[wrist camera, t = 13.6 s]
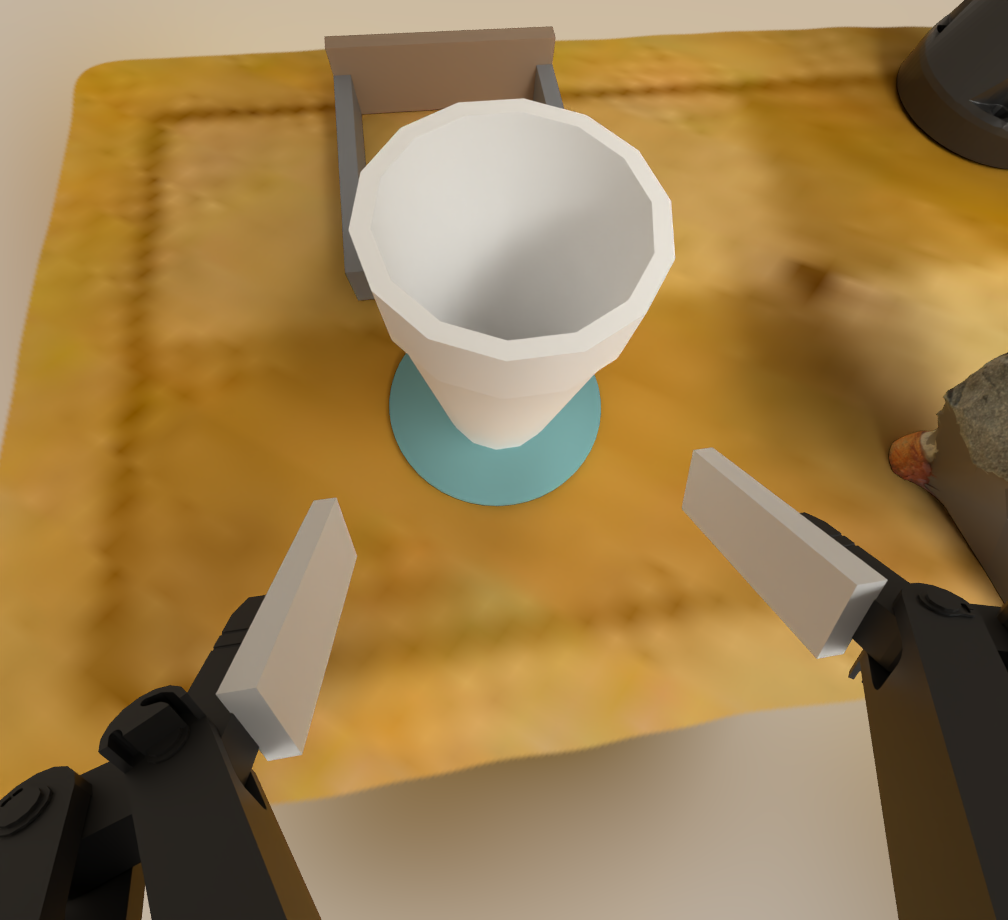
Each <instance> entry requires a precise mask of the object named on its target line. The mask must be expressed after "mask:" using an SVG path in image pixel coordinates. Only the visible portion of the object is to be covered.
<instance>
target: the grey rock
mask: <svg viewBox="0 0 1008 920" xmlns="http://www.w3.org/2000/svg"><path fill="white" fill-rule="evenodd" d="M943 398H944V399H945V402H946V403H945V405H944V407H943V409H942V410H941V411H939V412H938V413H937V414H936V415H937V416H938V428H937V429H936V430H934V431H919V432H915V433H913V434H910V435H906V436H904V437H901V438H899V439H898V440H896V441H894V442H893V444H892V446H891V448H890V453H889V461H890V464H891V467H892V470H893V472H894V473H895V474H898V475H899V476H900V477H902V478H903V479H904V480H909V481H911V482H913V483H915V484H917V485H919V486H921V487H922V488H924V489H925V490H927V491H928V492H929V493H931V494H932V495H934V496H935V497H936V498H937V499H938V500H939V501H940V502H941V503H942V504H943V505H944V506H945V508H946V509H947V511H948V512H949V514H950V516H951V517H952V519H953V520H954V522H955V524H956V525H957V527H958V528H959V530H960V532H961V533H962V535H963V536H964V538H965V539H966V541H967V543H968V544H969V546H970V547H971V549H972V551H973V552H974V554H975V555H976V557H977V559H978V560H979V562H980V563H981V565H982V567H983V568H984V570H985V571H986V573H987V575H988V576H989V578H990V580H991V581H992V583H993V585H994V587H995V588H996V590H997V592H998V593H999V595H1000V597H1001V598H1002V600H1003V602H1004V603H1006V602H1007V600H1008V353H1006V354H1003V355H1001V356H998V357H997V358H994V359H993V360H991V361H990V362H988V363H986V364H985V365H984V366H983V367H982V368H981V369H979V370H978V371H976V372H975V373H974V374H972V375H970V376H969V377H968V378H967V379H966V380H965V381H963V382H962V383H960V384H958V385H957V386H955V387H954V388H952V389H950V390H948V391H947V392H946V394H945V395H944V396H943Z"/></svg>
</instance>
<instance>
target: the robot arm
mask: <svg viewBox="0 0 1008 920" xmlns="http://www.w3.org/2000/svg"><path fill="white" fill-rule="evenodd" d="M897 86H898V92H899V95H900V98H901V101H902V103H903V105H904V107H905V109H906V110H907V112H908V113H909V115H910V116H911V117H912V119H913V120H914V121H915V122H916V123H917V124H918V126H919V127H920V128H921V129H922V130H924V131H925V132H926V133H927V134H928V135H929V136H930V137H932V138H933V139H934V140H936V141H937V142H938V143H940V144H941V145H943V146H945V147H946V148H948V149H950V150H951V151H953V152H955V153H957V154H959V155H961V156H963V157H965V158H968V159H970V160H973V161H976V162H979V163H982V164H985V165H989V166H993V167H998V168H1004V169H1008V0H964V1H963V2H962V3H961V4H960V5H959V6H958V7H957V8H955V9H954V10H953V11H952V12H951V13H950V14H949V15H947V16H945V17H944V18H943V19H942V20H941V21H939V22H938V23H937V24H936V25H935V26H934V27H933V28H932V29H931V30H930V31H929V32H928V33H927V34H926V35H925V37H924V38H923V39H922V40H921V41H920V43H919V44H918V45H917V46H916V47H915V49H914V50H913V51H912V52H911V53H910V55H909V56H908V57H907V58H906V59H905V61H904V62H903V63H902V65H901V67H900V69H899V72H898V77H897ZM682 510H683V511H684V512H685V513H686V514H687V515H688V516H689V517H690V519H691V520H692V521H693V522H694V523H695V524H696V525H697V526H698V527H699V529H700V530H701V531H702V532H703V533H704V534H705V535H706V536H707V537H708V539H709V540H710V541H711V542H712V543H713V544H714V545H715V546H716V547H717V549H718V550H719V551H720V552H721V553H722V554H723V555H724V556H725V557H726V559H727V560H728V561H729V562H730V563H731V564H732V565H733V566H734V567H735V569H736V570H737V571H738V572H739V573H740V574H741V575H742V576H743V577H744V579H745V580H746V581H747V582H748V583H749V584H750V585H751V586H752V587H753V589H754V590H755V591H756V592H757V593H758V594H759V595H760V596H761V597H762V599H763V600H764V601H765V602H766V603H767V604H768V605H769V606H770V607H771V609H772V610H773V611H774V612H775V613H776V614H777V615H778V616H779V617H780V619H781V620H782V621H783V622H784V623H785V624H786V625H787V626H788V627H789V629H790V630H791V631H792V632H793V633H794V634H795V635H796V636H797V637H798V639H799V640H800V641H801V642H802V643H803V644H804V645H805V646H806V647H807V649H808V650H809V651H810V652H811V653H812V654H813V655H814V656H815V657H816V659H818V658H824V657H829V656H834V655H840V654H844V652H845V650H846V649H847V647H848V645H849V644H850V642H851V640H852V639H854V640H855V641H856V642H857V643H858V644H859V645H860V646H861V647H862V648H863V650H862V652H861V654H860V655H859V657H858V658H857V660H856V661H855V663H854V665H853V666H852V668H851V669H850V671H849V676H848V677H849V678H851V679H854V678H855V677H856V675H857V674H858V672H859V671H861V673H862V683H863V686H864V693H865V700H866V706H867V713H868V719H869V726H870V733H871V739H872V746H873V753H874V758H875V766H876V772H877V779H878V786H879V792H880V799H881V805H882V812H883V818H884V824H885V832H886V839H887V844H888V851H889V858H890V865H891V872H892V878H893V885H894V892H895V898H896V904H897V911H898V918H899V920H1008V600H1007V602H1006V603H1005V604H1004V605H1003V606H1002V607H996V606H986V605H977V604H969V603H968V602H967V601H965V600H964V599H963V598H961V597H959V596H957V595H955V594H953V593H951V592H949V591H947V590H945V589H942V588H939V587H936V586H933V585H928V584H923V583H909V582H907V581H906V580H904V579H903V578H902V577H900V576H899V575H898V574H896V573H895V572H894V571H892V570H891V569H889V568H888V567H887V566H885V565H884V564H883V563H881V562H880V561H878V560H877V559H876V558H874V557H873V556H872V555H870V554H869V553H867V552H866V551H865V550H863V549H862V548H861V547H859V546H855V544H854V542H852V541H851V540H850V539H848V538H847V537H845V536H842V535H841V533H840V532H839V531H837V530H836V529H834V528H833V527H832V526H830V525H829V524H828V523H826V522H825V521H822V520H820V519H818V518H816V517H814V516H812V515H809V514H807V513H805V512H804V513H799V512H797V511H796V510H795V509H793V508H792V507H791V506H789V505H788V504H787V503H785V502H784V501H783V500H781V499H780V498H779V497H777V496H776V495H775V494H773V493H772V492H771V491H769V490H768V489H767V488H765V487H764V486H763V485H761V484H760V483H759V482H757V481H756V480H755V479H754V478H752V477H751V476H750V475H748V474H747V473H746V472H744V471H743V470H742V469H740V468H739V467H738V466H736V465H735V464H734V463H732V462H731V461H730V460H728V459H727V458H726V457H724V456H723V455H722V454H720V453H719V452H718V451H716V450H715V449H714V448H705V449H698V450H693V455H692V460H691V465H690V470H689V475H688V480H687V485H686V490H685V495H684V500H683V505H682ZM356 558H357V555H356V552H355V549H354V546H353V543H352V540H351V538H350V535H349V532H348V529H347V526H346V523H345V521H344V518H343V515H342V512H341V509H340V506H339V503H338V501H337V498H330V499H322V500H315V501H313V503H312V505H311V507H310V509H309V511H308V513H307V515H306V517H305V519H304V521H303V523H302V525H301V527H300V529H299V531H298V533H297V535H296V537H295V539H294V541H293V543H292V545H291V547H290V549H289V551H288V553H287V555H286V557H285V559H284V561H283V562H282V564H281V566H280V568H279V570H278V572H277V574H276V576H275V578H274V580H273V582H272V584H271V586H270V588H269V590H268V592H267V594H266V595H263V596H256V597H250V598H248V599H247V600H246V601H245V602H244V603H243V604H242V605H241V606H240V607H239V608H238V609H237V610H236V611H235V612H234V613H233V614H232V615H231V617H230V619H229V621H228V622H227V624H226V626H225V628H224V629H223V631H222V635H221V636H219V638H218V640H217V642H216V643H215V645H214V650H213V651H211V652H210V654H209V656H208V657H207V659H206V661H205V663H204V664H203V666H202V668H201V670H200V671H199V673H198V675H197V677H196V678H195V680H194V682H193V684H192V685H191V687H190V689H189V691H188V692H186V691H185V690H184V689H183V688H182V687H180V686H171V685H169V686H166V687H162V688H158V689H155V690H153V691H151V692H149V693H147V694H145V695H143V696H141V697H139V698H138V699H137V700H135V701H134V702H133V703H131V704H130V705H129V706H127V707H126V708H125V709H123V710H122V711H121V712H120V714H119V715H118V716H117V717H116V718H115V719H114V720H113V721H112V722H111V723H110V724H109V726H108V728H107V729H106V731H105V733H104V734H103V736H102V738H101V740H100V745H99V751H98V752H99V753H100V754H101V755H102V756H104V757H105V758H106V759H107V760H108V761H110V762H108V763H106V764H103V765H101V766H99V767H97V768H95V769H92V770H90V771H88V772H86V773H84V774H82V775H79V774H77V773H76V772H75V771H73V770H72V769H70V768H69V767H68V766H61V767H53V768H50V769H48V770H45V771H42V772H40V773H37V774H36V775H34V776H32V777H31V778H29V779H27V780H26V781H24V782H23V783H21V784H19V785H18V786H16V787H15V788H14V789H13V790H12V791H11V792H9V793H8V794H7V795H6V796H5V797H3V798H2V799H1V800H0V920H141V919H142V909H143V900H144V891H145V886H146V891H147V896H148V902H149V907H150V913H151V918H152V920H321V917H320V916H319V913H318V911H317V909H316V906H315V904H314V902H313V900H312V898H311V895H310V893H309V891H308V889H307V886H306V884H305V882H304V880H303V877H302V875H301V873H300V871H299V869H298V867H297V864H296V862H295V860H294V857H293V855H292V853H291V851H290V849H289V847H288V844H287V842H286V840H285V837H284V835H283V833H282V831H281V829H280V826H279V824H278V822H277V820H276V818H275V815H274V813H273V811H272V809H271V806H270V804H269V802H268V800H267V797H266V795H265V793H264V791H263V789H262V786H261V784H260V782H259V780H258V778H257V775H256V773H255V772H254V771H253V770H252V766H253V763H254V760H255V758H256V755H257V752H258V750H260V751H261V753H262V754H263V755H264V756H265V758H266V759H267V760H268V761H270V760H276V759H281V758H287V757H292V756H297V755H302V753H303V749H304V746H305V742H306V739H307V735H308V731H309V728H310V724H311V721H312V717H313V713H314V710H315V706H316V703H317V699H318V695H319V692H320V688H321V684H322V681H323V677H324V674H325V670H326V666H327V663H328V659H329V656H330V652H331V648H332V645H333V641H334V638H335V634H336V630H337V627H338V623H339V620H340V616H341V612H342V609H343V605H344V601H345V598H346V594H347V591H348V587H349V583H350V580H351V576H352V573H353V569H354V565H355V562H356Z"/></svg>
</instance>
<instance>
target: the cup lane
mask: <svg viewBox="0 0 1008 920" xmlns="http://www.w3.org/2000/svg"><path fill="white" fill-rule="evenodd" d="M554 45H555V34H554V30H553V27H529V28H508V29H484V30H461V31H440V32H417V33H394V34H374V35H373V34H372V35H349V36H327V37H325V50H326V53H327V56H328V59H329V62H330V66H331V69H332V72H333V75H334V91H335V108H336V126H337V143H338V160H339V178H340V195H341V212H342V230H343V247H344V264H345V274H346V276H347V278H348V280H349V282H350V284H351V286H352V288H353V291H354V293H355V295H356V297H357V299H358V300H368V299H374V296H373V294H372V291H371V289H370V286H369V283H368V281H367V278H366V275H365V273H364V270H363V267H362V265H361V262H360V259H359V257H358V254H357V252H356V249H355V246H354V244H353V241H352V238H351V236H350V233H349V230H348V229H349V225H350V220H351V215H352V210H353V206H354V201H355V196H356V191H357V186H358V182H359V177H360V172H361V171H362V170H363V169H364V168H365V167H366V162H365V150H364V137H363V125H362V114H372V113H389V112H405V111H422V110H438V109H444V108H447V107H449V106H451V105H454V104H456V103H458V102H474V101H490V100H506V99H521V98H524V99H528V100H531V101H535V102H539V103H543V104H547V105H550V106H554V107H558V108H562V109H564V107H563V103H562V99H561V96H560V92H559V88H558V84H557V81H556V77H555V73H554V70H553V66H552V61H553V53H554Z"/></svg>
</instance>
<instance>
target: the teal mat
mask: <svg viewBox="0 0 1008 920" xmlns="http://www.w3.org/2000/svg"><path fill="white" fill-rule="evenodd" d="M389 407H390V419H391V426H392V429H393V432H394V436H395V439H396V441H397V443H398V445H399V447H400V450H401V452H402V453H403V455H404V456H405V458H406V459H407V461H408V462H409V464H410V465H411V466H412V467H413V468H414V469H415V471H416V472H417V473H418V474H419V475H420V476H421V477H422V478H423V479H425V480H426V481H427V482H428V483H429V484H430V485H432V486H434V487H435V488H437V489H438V490H440V491H441V492H443V493H445V494H447V495H449V496H451V497H454V498H456V499H459V500H462V501H465V502H468V503H473V504H479V505H486V506H505V505H515V504H519V503H524V502H528V501H531V500H533V499H536V498H539V497H541V496H543V495H545V494H547V493H549V492H551V491H553V490H554V489H556V488H557V487H559V486H560V485H561V484H563V483H564V482H565V481H566V480H567V479H569V478H570V477H571V476H572V475H573V474H574V473H575V472H576V471H577V469H578V468H579V467H580V466H581V464H582V463H583V462H584V461H585V459H586V457H587V456H588V454H589V452H590V451H591V449H592V446H593V444H594V441H595V439H596V436H597V432H598V428H599V424H600V415H601V400H600V394H599V388H598V384H597V381H596V378H595V375H593V376H592V377H591V378H590V379H589V380H588V382H587V383H586V384H585V385H584V386H583V387H582V388H581V389H580V390H579V391H578V392H577V393H576V394H575V395H574V397H573V398H572V399H571V400H570V401H569V402H568V403H567V404H566V405H565V406H564V407H563V408H562V409H561V410H560V412H559V413H558V414H557V415H556V416H555V417H554V418H553V419H552V420H551V421H550V422H549V423H548V424H547V425H546V426H545V428H544V429H543V430H542V431H541V432H539V433H538V434H537V435H536V436H534V437H533V438H531V439H530V440H528V441H527V442H525V443H524V444H522V445H521V446H518V447H511V448H505V449H498V450H495V449H492V448H488V447H485V446H482V445H478V444H475V443H473V442H472V441H470V440H469V439H468V438H467V437H466V436H465V435H464V434H463V433H461V432H460V431H459V430H458V429H457V428H456V426H455V425H454V424H453V423H452V421H451V420H450V418H449V417H448V415H447V413H446V412H445V410H444V409H443V407H442V406H441V404H440V403H439V401H438V400H437V398H436V397H435V395H434V393H433V392H432V390H431V389H430V387H429V386H428V384H427V383H426V381H425V380H424V378H423V376H422V375H421V373H420V372H419V370H418V369H417V367H416V366H415V364H414V363H413V361H412V360H411V358H410V356H409V355H408V354H407V353H406V354H405V356H404V357H403V359H402V361H401V362H400V364H399V366H398V368H397V371H396V373H395V375H394V379H393V383H392V386H391V392H390V400H389Z"/></svg>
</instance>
